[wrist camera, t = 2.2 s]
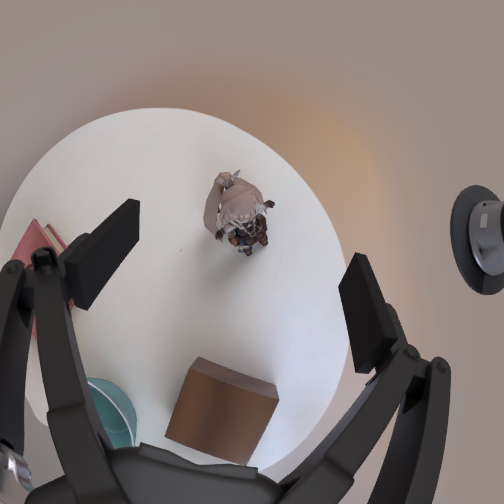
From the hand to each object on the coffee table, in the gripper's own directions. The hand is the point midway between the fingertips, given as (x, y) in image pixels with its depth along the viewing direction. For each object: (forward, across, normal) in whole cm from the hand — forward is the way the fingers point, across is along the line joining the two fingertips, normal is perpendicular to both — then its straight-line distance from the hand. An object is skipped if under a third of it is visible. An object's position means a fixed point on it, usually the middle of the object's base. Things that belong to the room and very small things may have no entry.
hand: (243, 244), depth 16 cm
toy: (+22, -1, -11) cm, 25 cm away
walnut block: (+5, +3, -31) cm, 31 cm away
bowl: (+1, -16, -38) cm, 41 cm away
